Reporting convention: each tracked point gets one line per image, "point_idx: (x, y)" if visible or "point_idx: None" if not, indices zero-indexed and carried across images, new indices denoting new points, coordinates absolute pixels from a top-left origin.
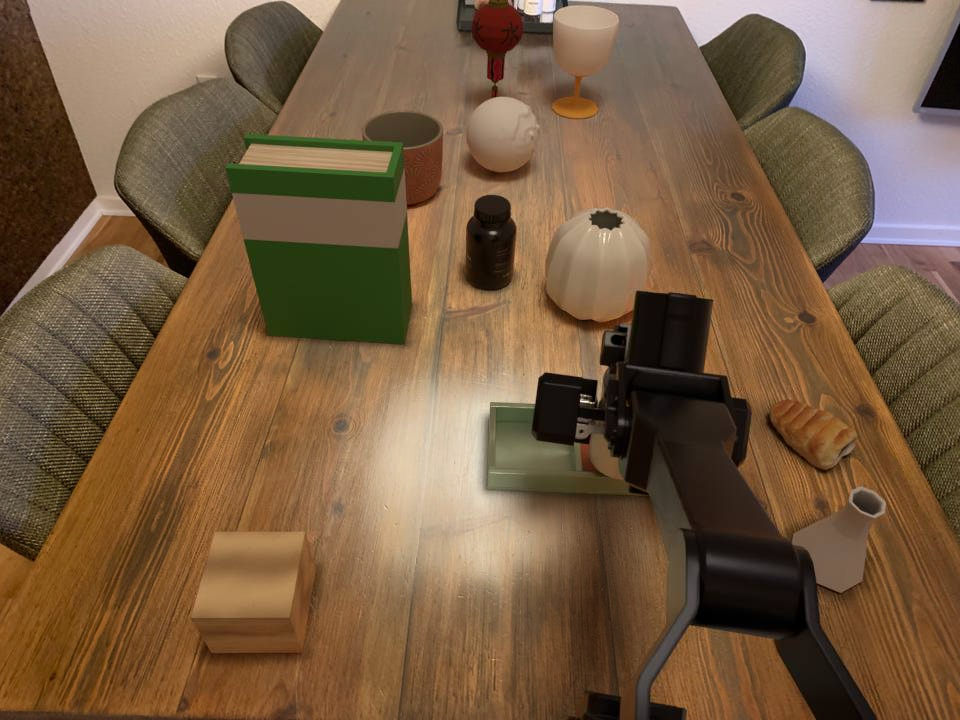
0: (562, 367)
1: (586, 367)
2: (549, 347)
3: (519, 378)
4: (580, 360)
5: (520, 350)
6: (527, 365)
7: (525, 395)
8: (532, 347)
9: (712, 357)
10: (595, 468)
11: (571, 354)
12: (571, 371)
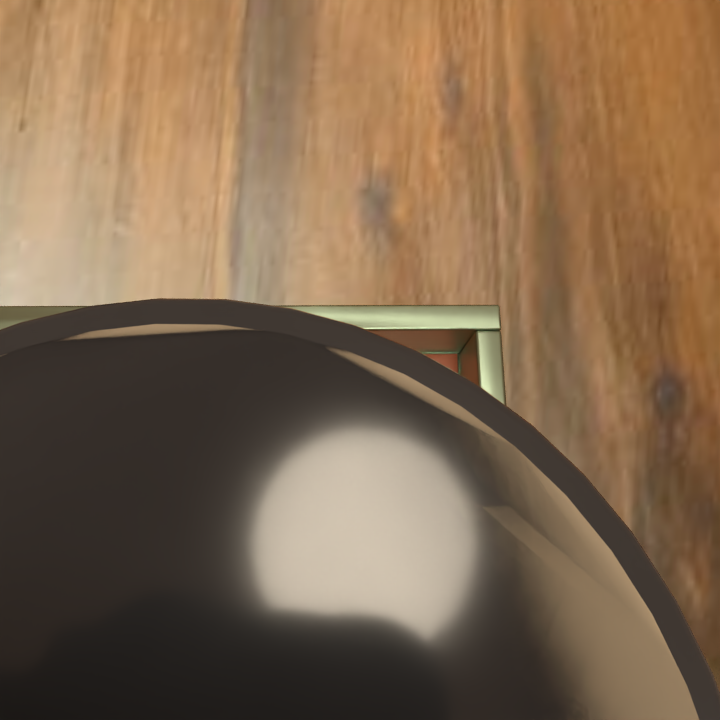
0: (171, 88)
1: (260, 84)
2: (135, 2)
3: (3, 143)
4: (242, 54)
5: (26, 19)
6: (42, 84)
7: (14, 220)
8: (72, 4)
9: (713, 24)
10: None
11: (212, 29)
12: (203, 104)
